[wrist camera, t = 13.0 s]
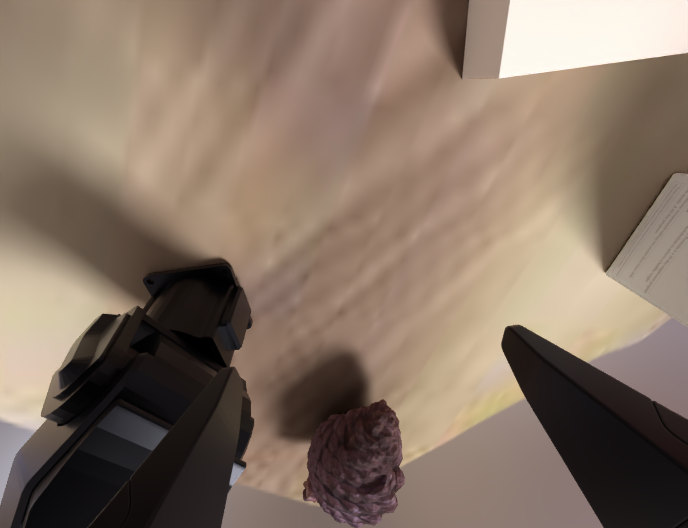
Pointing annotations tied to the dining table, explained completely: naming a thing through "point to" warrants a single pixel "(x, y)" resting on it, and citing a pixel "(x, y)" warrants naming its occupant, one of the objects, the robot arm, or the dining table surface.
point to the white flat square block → (568, 34)
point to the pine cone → (356, 465)
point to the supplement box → (659, 253)
